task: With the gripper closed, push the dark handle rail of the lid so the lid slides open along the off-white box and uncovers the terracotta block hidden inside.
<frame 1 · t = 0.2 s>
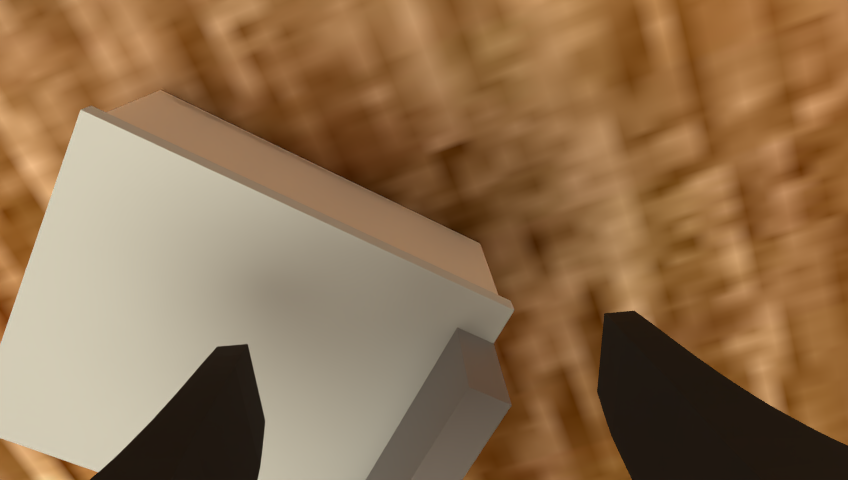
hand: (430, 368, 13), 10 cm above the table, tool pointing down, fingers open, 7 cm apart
box: (272, 288, 24), on the table
lid: (229, 394, 17), point 7 cm above the table, slide at 0.0 cm
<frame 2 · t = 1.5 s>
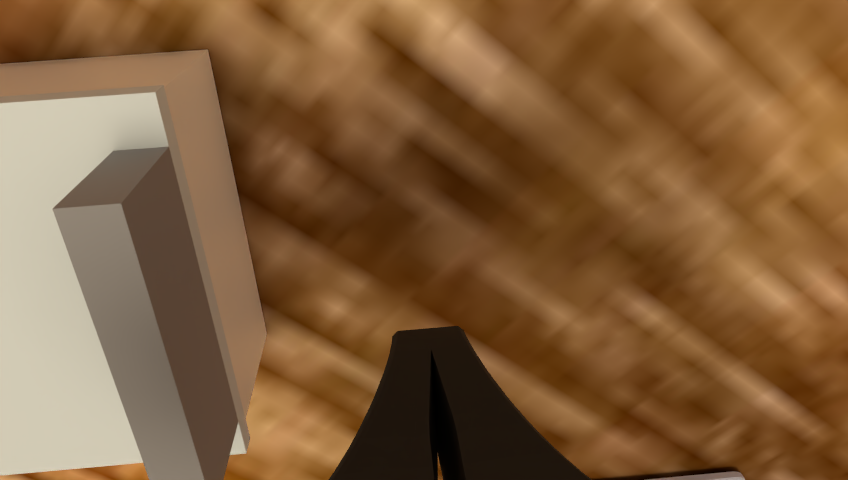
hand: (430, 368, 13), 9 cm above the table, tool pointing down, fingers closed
box: (51, 222, 21), on the table
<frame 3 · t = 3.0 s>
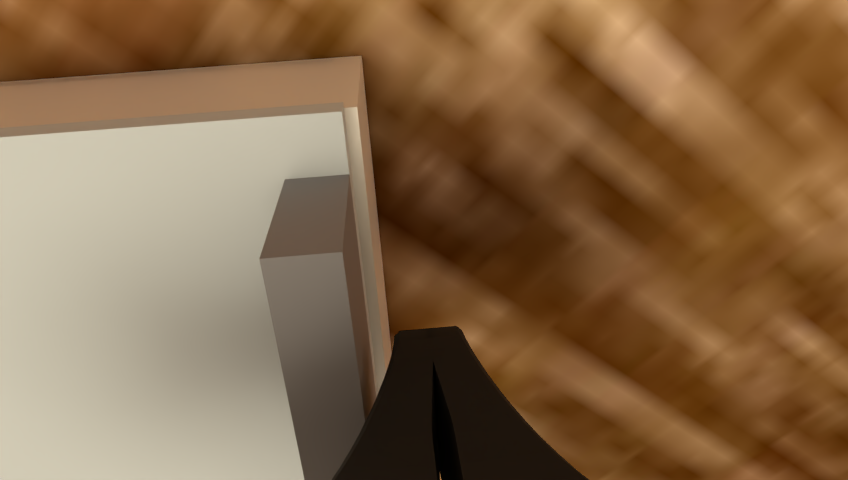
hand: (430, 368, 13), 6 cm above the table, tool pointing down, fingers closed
box: (170, 247, 19), on the table
lid: (53, 412, 13), point 7 cm above the table, slide at 0.4 cm, touching gripper
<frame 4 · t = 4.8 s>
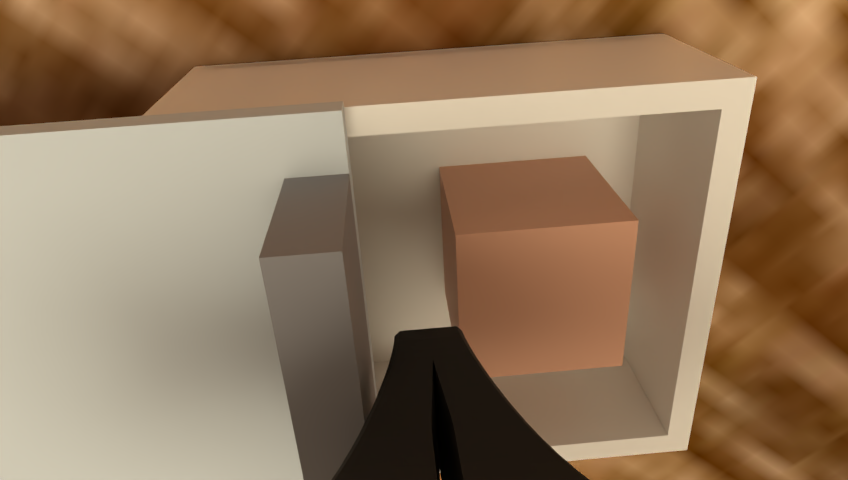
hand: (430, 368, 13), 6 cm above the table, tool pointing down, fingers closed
terracotta block: (511, 227, 18), resting on box
box: (440, 224, 19), on the table
lid: (51, 411, 13), point 7 cm above the table, slide at 8.2 cm, touching gripper
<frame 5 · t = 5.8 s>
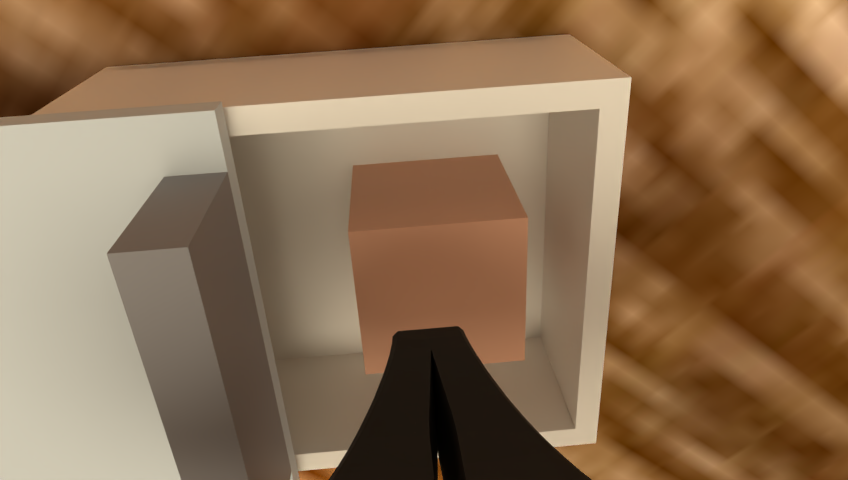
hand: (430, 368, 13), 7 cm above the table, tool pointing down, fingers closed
terracotta block: (429, 224, 19), resting on box
box: (360, 222, 19), on the table
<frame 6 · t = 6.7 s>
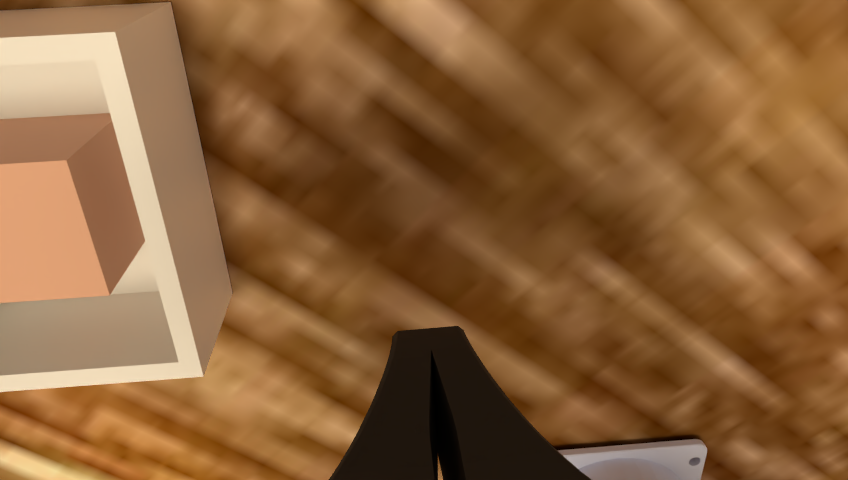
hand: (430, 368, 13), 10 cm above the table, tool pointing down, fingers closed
terracotta block: (73, 177, 20), resting on box
box: (16, 175, 21), on the table
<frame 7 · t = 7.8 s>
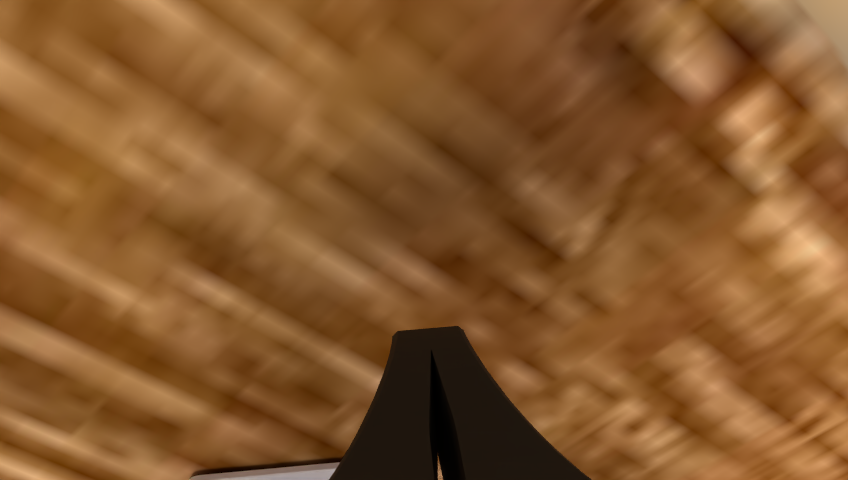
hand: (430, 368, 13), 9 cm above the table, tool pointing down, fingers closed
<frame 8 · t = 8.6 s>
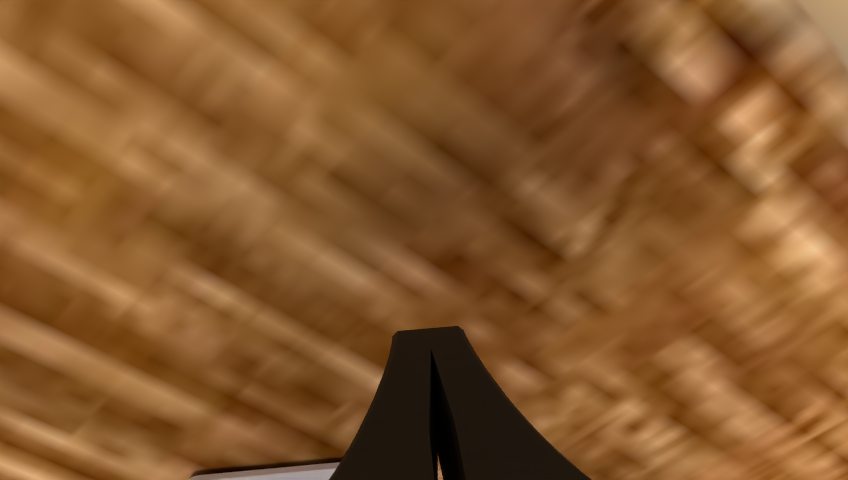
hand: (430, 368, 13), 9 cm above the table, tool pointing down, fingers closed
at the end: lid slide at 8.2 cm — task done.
